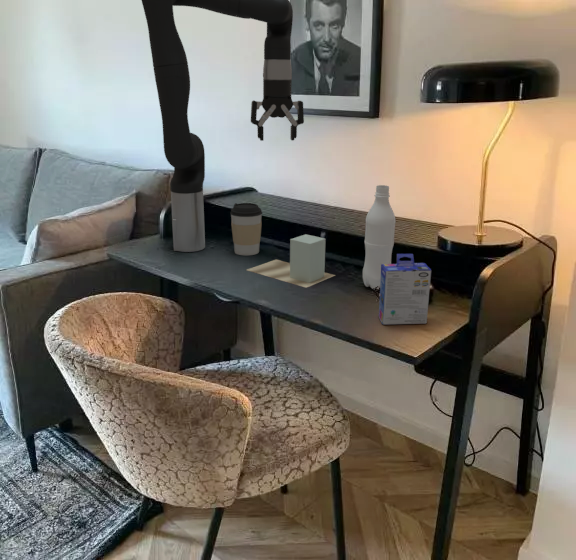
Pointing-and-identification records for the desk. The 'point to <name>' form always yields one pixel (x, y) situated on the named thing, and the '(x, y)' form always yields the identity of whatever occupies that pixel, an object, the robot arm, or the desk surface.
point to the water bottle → (378, 237)
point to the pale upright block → (307, 258)
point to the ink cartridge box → (404, 292)
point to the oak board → (283, 273)
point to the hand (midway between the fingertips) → (277, 140)
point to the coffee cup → (246, 228)
